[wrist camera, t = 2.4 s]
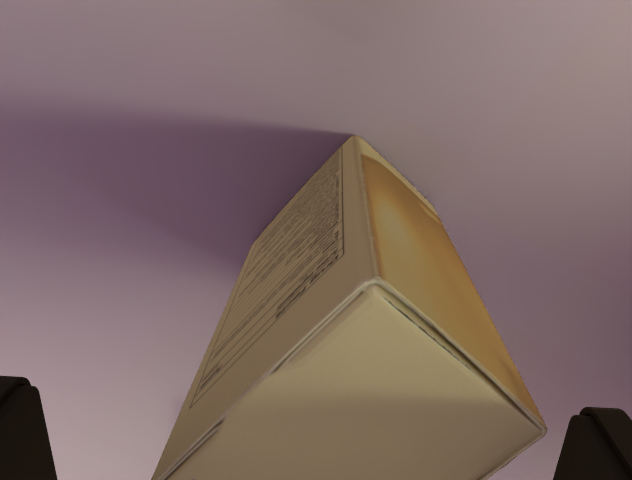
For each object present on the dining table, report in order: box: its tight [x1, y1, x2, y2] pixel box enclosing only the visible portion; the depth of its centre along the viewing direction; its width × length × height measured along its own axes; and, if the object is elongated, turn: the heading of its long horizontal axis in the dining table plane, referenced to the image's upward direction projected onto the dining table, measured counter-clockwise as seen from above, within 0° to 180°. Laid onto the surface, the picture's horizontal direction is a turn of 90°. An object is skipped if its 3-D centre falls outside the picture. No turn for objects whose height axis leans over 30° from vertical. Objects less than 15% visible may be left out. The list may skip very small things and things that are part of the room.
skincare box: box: [151, 135, 547, 480], centre depth 15 cm, size 6×4×12 cm
